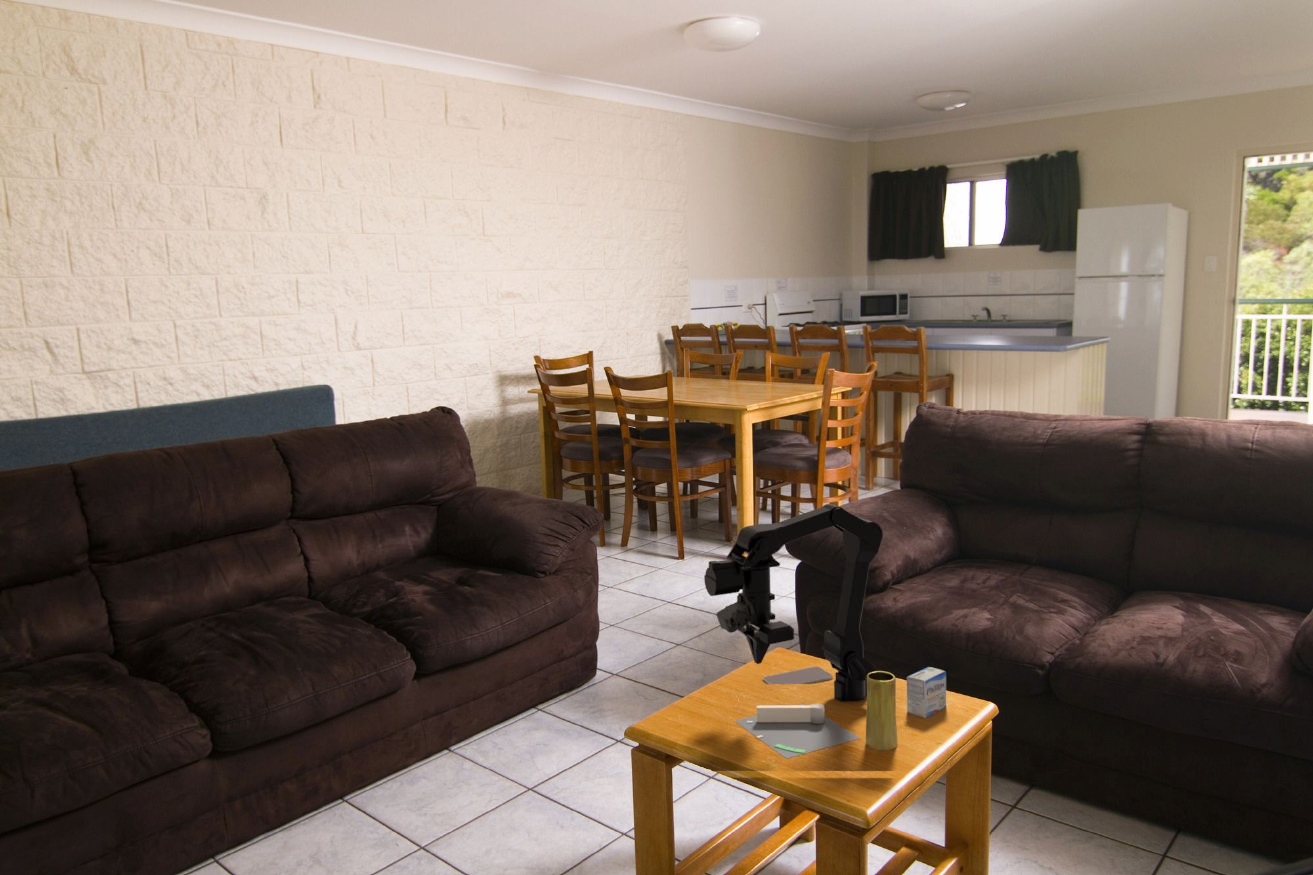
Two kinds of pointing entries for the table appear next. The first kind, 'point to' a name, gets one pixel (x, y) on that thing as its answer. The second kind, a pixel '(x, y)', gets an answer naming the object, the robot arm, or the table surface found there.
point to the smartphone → (800, 676)
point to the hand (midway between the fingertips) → (758, 663)
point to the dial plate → (797, 735)
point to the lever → (791, 713)
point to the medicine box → (926, 692)
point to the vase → (881, 711)
